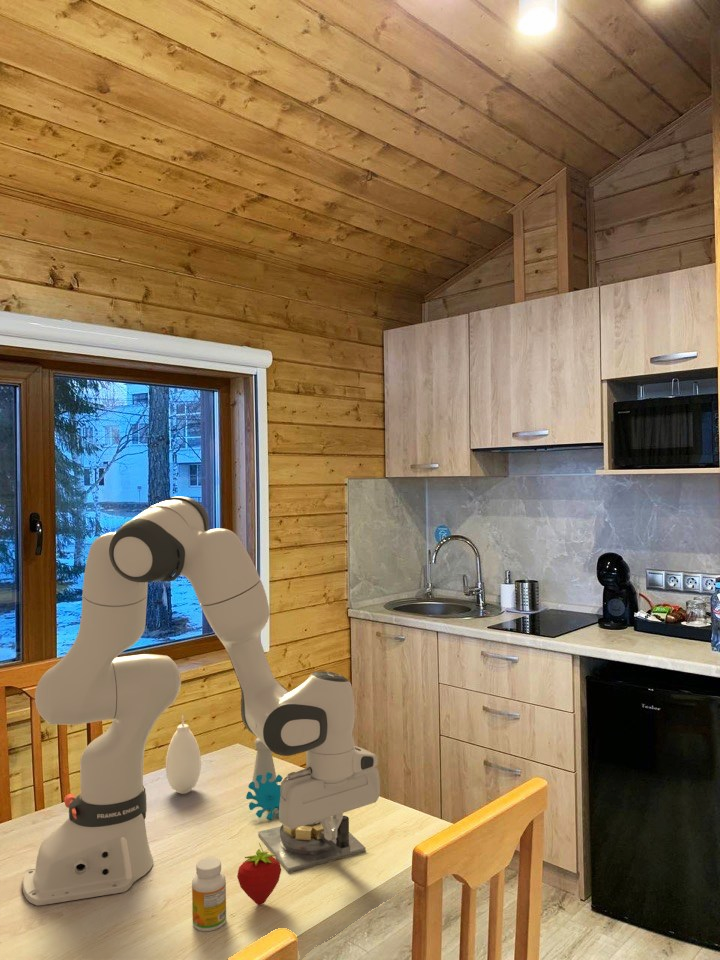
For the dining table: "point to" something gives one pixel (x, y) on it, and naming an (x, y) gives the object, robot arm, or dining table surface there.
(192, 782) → the white air blower bulb
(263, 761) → the salt shaker
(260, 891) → the strawberry
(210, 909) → the supplement bottle
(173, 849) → the dining table surface
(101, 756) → the robot arm
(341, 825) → the ring nut
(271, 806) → the teal virus model
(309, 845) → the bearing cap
